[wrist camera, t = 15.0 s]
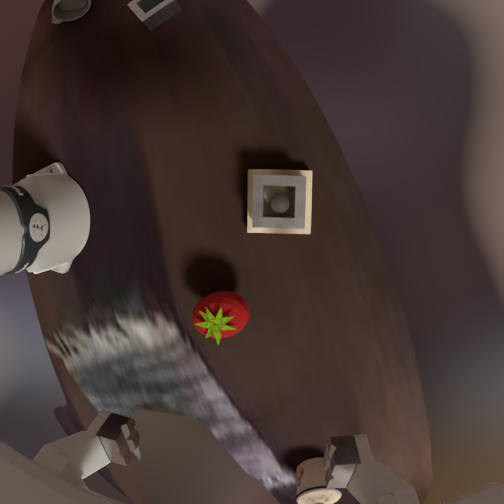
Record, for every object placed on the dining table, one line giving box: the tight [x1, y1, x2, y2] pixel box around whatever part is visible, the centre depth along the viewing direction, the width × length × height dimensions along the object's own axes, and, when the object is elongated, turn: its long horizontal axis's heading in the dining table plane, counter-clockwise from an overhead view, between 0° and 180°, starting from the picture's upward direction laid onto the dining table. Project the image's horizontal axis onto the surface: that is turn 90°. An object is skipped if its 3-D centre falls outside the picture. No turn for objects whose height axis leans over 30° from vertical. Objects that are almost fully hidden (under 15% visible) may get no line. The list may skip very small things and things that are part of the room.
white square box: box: [127, 0, 182, 31], centre depth 31 cm, size 6×6×4 cm
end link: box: [252, 175, 306, 229], centre depth 35 cm, size 6×6×4 cm
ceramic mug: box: [52, 0, 91, 24], centre depth 29 cm, size 11×8×8 cm
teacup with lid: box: [296, 457, 342, 504], centre depth 44 cm, size 12×9×12 cm
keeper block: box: [247, 169, 312, 234], centre depth 35 cm, size 8×8×7 cm
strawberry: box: [192, 291, 250, 345], centre depth 37 cm, size 6×8×10 cm
